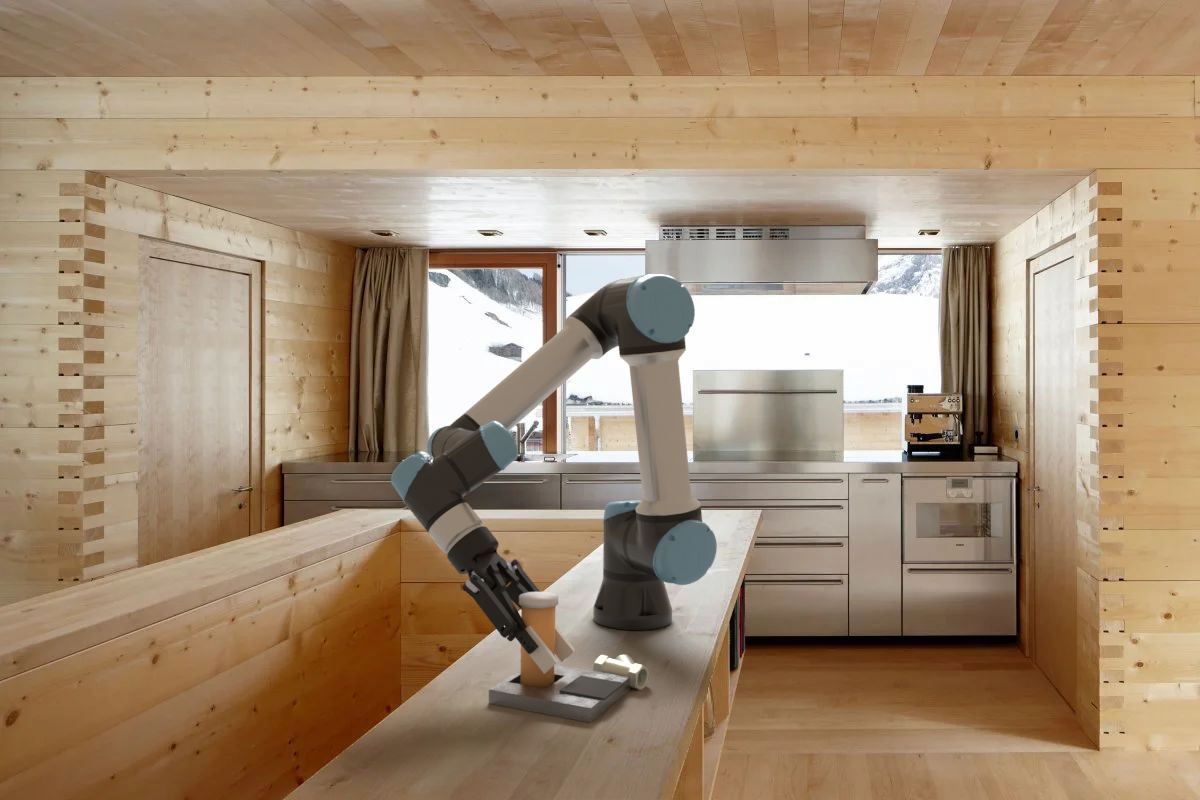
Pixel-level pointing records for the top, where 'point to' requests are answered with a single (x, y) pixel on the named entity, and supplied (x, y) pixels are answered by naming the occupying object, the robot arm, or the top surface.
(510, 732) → the top surface
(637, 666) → the pipe fitting
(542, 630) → the orange pill bottle
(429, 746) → the top surface
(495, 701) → the plate
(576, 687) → the pad
